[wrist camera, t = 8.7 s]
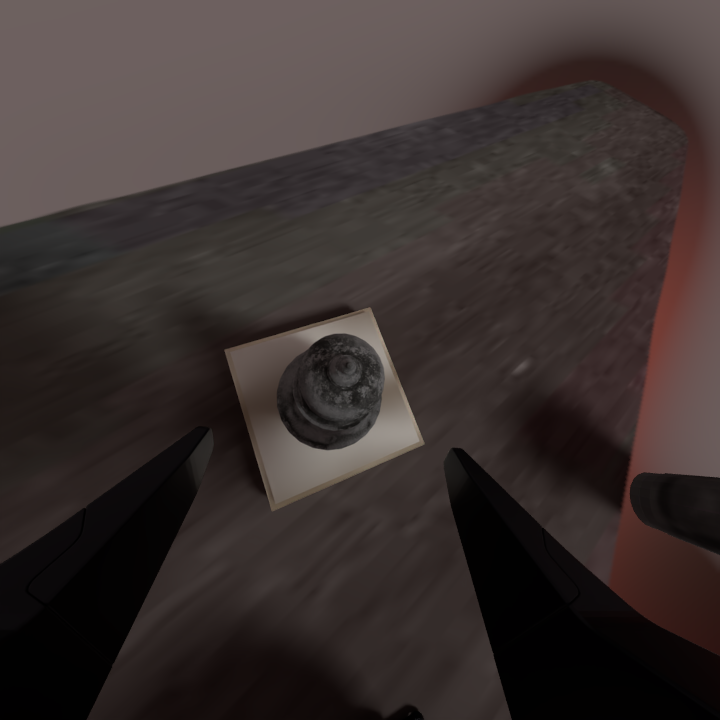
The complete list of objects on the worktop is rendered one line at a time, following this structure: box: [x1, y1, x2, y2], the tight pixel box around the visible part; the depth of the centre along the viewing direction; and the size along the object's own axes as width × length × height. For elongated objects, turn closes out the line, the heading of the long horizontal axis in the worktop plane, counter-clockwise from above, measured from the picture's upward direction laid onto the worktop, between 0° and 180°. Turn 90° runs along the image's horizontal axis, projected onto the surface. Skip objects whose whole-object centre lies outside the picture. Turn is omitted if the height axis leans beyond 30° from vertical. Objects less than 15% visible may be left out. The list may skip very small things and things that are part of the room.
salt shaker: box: [277, 333, 385, 450], centre depth 13 cm, size 6×6×12 cm
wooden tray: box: [224, 308, 424, 511], centre depth 20 cm, size 11×11×2 cm
